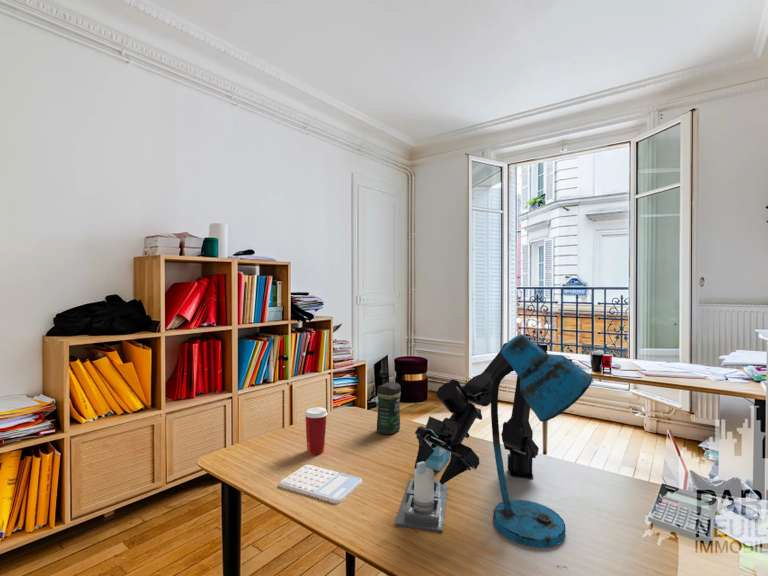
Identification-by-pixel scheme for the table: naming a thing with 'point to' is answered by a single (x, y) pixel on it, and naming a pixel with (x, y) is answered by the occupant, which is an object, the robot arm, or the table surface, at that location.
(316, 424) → the paper cup
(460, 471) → the robot arm
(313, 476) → the calculator
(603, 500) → the table surface
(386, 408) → the coffee jar
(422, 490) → the plug
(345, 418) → the table surface
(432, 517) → the panel
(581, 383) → the desk lamp
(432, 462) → the data package
